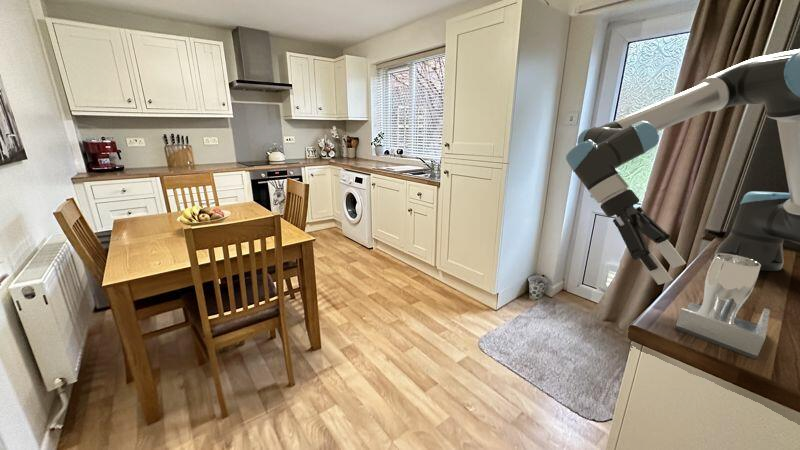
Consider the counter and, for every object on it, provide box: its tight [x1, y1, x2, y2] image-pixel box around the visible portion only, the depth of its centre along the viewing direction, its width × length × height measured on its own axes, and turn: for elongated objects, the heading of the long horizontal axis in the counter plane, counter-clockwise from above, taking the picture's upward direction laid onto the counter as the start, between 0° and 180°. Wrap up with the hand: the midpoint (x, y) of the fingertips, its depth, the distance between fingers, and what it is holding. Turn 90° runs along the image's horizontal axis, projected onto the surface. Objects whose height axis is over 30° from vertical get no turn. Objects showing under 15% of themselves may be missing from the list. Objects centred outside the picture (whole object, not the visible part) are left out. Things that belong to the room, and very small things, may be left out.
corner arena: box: [674, 302, 771, 360], centre depth 68 cm, size 15×12×5 cm
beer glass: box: [697, 253, 761, 325], centre depth 67 cm, size 7×7×15 cm
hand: (673, 273), depth 72 cm, fingers open, 13 cm apart
